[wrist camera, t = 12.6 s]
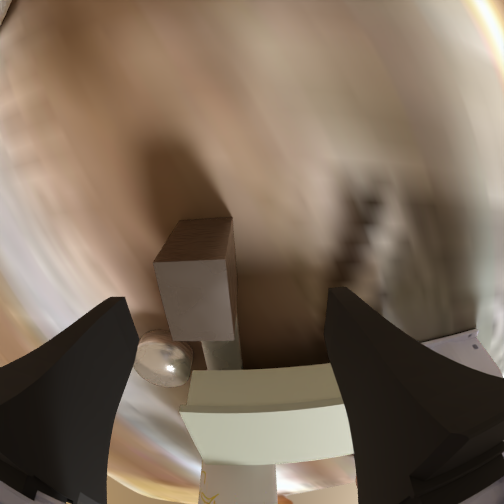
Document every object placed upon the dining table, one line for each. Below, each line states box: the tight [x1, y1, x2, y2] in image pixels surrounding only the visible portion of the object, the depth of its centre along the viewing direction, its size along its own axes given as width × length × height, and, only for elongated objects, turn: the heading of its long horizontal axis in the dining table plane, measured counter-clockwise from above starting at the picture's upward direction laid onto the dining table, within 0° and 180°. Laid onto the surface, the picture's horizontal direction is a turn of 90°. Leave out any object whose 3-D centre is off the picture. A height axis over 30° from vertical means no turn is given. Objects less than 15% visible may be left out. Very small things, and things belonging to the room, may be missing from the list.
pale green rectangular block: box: [179, 363, 354, 465], centre depth 21 cm, size 17×10×8 cm, turn 93°
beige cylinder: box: [198, 459, 278, 504], centre depth 25 cm, size 8×8×12 cm
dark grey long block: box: [153, 217, 243, 370], centre depth 19 cm, size 4×16×6 cm, turn 3°
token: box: [133, 330, 194, 387], centre depth 23 cm, size 5×5×2 cm
